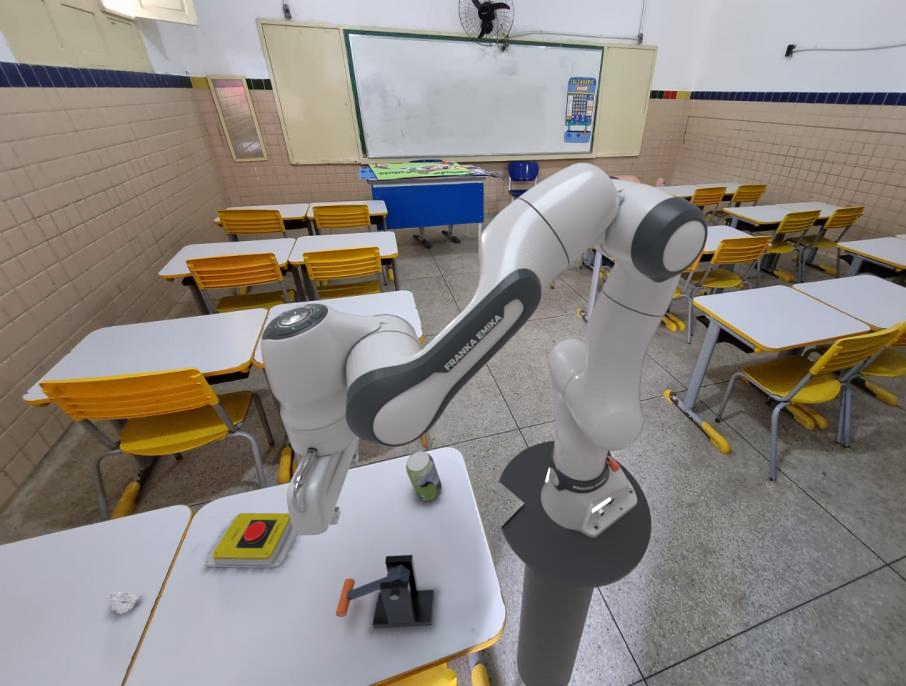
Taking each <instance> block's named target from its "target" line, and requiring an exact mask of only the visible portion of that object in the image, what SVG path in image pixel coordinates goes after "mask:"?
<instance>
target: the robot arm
mask: <svg viewBox="0 0 906 686" xmlns="http://www.w3.org/2000/svg"><path fill="white" fill-rule="evenodd" d="M707 220H708V219H707V217H706V214H705V213H704V212H703V211H702V210H701V209H700V208H699V207H698V206H697V205H696V204H694V203H693V202H691V201H689V200H687V199H686V198H684V197H680V196H675V195H673V194H670V193H668V192H667V191H665V190H662V189H660V188H658V187H655V186H652V185H649V184H647V183H638V182H634V181H630V180H625V179H620V178H619V177H617V176H614V175H608V174H607V173H606V172H605V171H604V170H603V169H602V168H600V167H599V166H597V165H595V164H592V163H590V162H589V163H588V162H578V163H573V164H571V165H569V166H567V167H564V168H563V169H561V170H559V171H557V172H555V173H553V174H552V175H550V176H548V177H546V178H545V179H543V180H541V181H540V182H538V183H536V184H535V185H534V186H532V187H531V188H530V189H528V190H526V191H525V192H524V193H523V194H521V195H520V196H518V197H517V198H516V199H514V200H513V201H512V202H511V203H510V204H508V205H507V206H506V207H504V208H503V209H502V210H500V212H498V213H497V214H496V215H495V217H494V218H492V220H491V221H490V222H489V223H488V224H487V226H486V227H485V228H484V229H483V231H482V232H481V235H480V237H479V238H480V239H479V242H478V249H477V250H478V264H479V277H478V284H477V287H476V291H475V293H474V295H473V297H472V299H471V300H470V301H469V303H468V304H467V306H466V307H465V308H464V309H463V310H462V311H460V312H459V314H458V315H457V316H456V317H454V319H452V321H450V323H448V324H447V325H446V326H445V327H444V328H443V329H442V330H441V331H440V332H439V333H438V334H437V335H436V336H435V337H433V339H431V340H430V341H429V342H428V343H427V344H426V345H425V346H424V347H423V346H422V344H421V342H420V340H419V338H418V334H417V333H416V330H415V329H414V326H412V324H411V323H410V322H409V321H407V320H406V319H405V318H403V317H400V316H398V315H394V314H389V313H381V314H374V315H360V314H351V313H347V312H342V311H339V310H337V309H335V308H332V307H330V306H329V305H326V304H324V303H305V304H301V305H297V306H294V307H292V308H289V309H287V310H284V311H283V312H281V313H280V314H279V315H278V316H276V317H275V318H273V319H272V320H271V321H270V322H269V323H268V324H267V326H266V327H265V329H264V330H263V333H262V335H261V337H260V353H261V359H262V364H263V368H264V372H265V375H266V379H267V382H268V385H269V388H270V391H271V393H272V395H273V396H274V397H275V399H276V400H277V401H278V403H279V405H280V407H279V414H280V418H281V422H282V425H283V427H284V430H285V432H286V436H287V439H288V441H289V444H290V447H291V448H292V451H294V452H295V453H297V455H301V456H302V457H301V459H300V461H299V463H298V465H297V467H296V470H295V471H294V473H293V476H292V478H291V480H290V482H289V484H288V487H287V492H286V505H287V510H288V514H289V515H290V520H291V523H292V527H293V530H294V532H295V533H296V534H297V535H298V536H317V535H321V534H323V533H326V532H327V531H328V529H329V527H330V526H333V525H337V524H338V523H339V519H340V516H341V511H340V506H337V503H338V500H339V498H340V496H341V492H342V490H343V487H344V484H345V481H346V479H347V475H348V472H349V469H350V467H356V466H357V465H358V462H359V459H360V455H359V441H360V439H361V440H362V441H364V442H366V443H369V444H371V445H375V446H379V447H385V448H397V447H404V446H407V445H409V444H411V443H414V442H415V441H417V440H419V439H420V438H423V436H424V435H426V433H428V432H429V431H430V430H431V429H432V428H433V427H434V426H435V424H436V423H437V422H438V421H439V419H440V418H441V417H442V415H443V414H444V412H445V410H446V409H447V408H448V406H449V405H450V403H451V401H452V400H453V399H454V398H455V397H456V396H457V394H458V393H459V392H460V391H461V390H462V388H464V387H465V386H466V385H467V384H468V383H469V382H470V381H471V380H472V379H473V378H474V377H475V376H476V374H478V373H479V372H480V371H481V369H482V368H484V367H485V366H486V365H487V363H488V362H490V361H491V360H492V358H493V357H494V356H496V354H497V353H498V352H500V350H501V349H503V348H504V346H505V345H506V344H507V343H508V342H509V341H510V340H511V339H512V338H513V337H514V336H515V335H516V334H517V333H518V332H519V331H520V329H522V327H524V325H525V324H527V322H528V321H529V320H530V318H531V317H532V316H533V315H534V313H535V312H536V311H537V309H538V307H539V305H540V302H541V299H542V294H543V293H544V292H545V290H546V289H547V287H549V284H551V283H552V281H553V280H554V279H555V278H556V277H557V276H558V275H559V274H561V272H562V271H564V270H565V269H566V268H567V267H569V266H570V265H571V264H572V263H573V262H575V261H576V260H577V259H578V258H580V257H581V256H582V255H583V254H584V253H585V252H586V251H587V250H588V249H589V248H591V247H594V248H595V249H596V250H598V251H600V252H601V253H602V254H604V255H606V256H608V257H609V258H612V259H614V264H613V266H612V268H611V270H610V272H609V273H608V275H607V277H606V279H605V281H604V283H603V285H602V288H601V290H600V292H599V295H598V297H597V300H596V302H595V304H594V307H593V309H592V310H591V313H590V316H589V318H588V319H587V323H586V326H585V337H586V342H584V341H583V340H581V339H578V338H570V339H569V338H568V339H565V340H562V341H561V342H559V343H558V344H556V345H555V346H554V347H553V348H552V349H551V351H550V353H549V356H548V358H547V364H548V370H549V374H550V379H551V380H550V381H551V390H552V402H553V413H554V414H553V415H554V421H555V423H554V425H555V434H554V441H555V442H554V448H553V450H552V453H551V458H550V467H549V470H548V474H547V477H546V482H545V484H544V486H543V488H542V491H541V502H542V505H543V508H544V510H545V512H546V513H547V515H548V516H549V517H550V518H551V519H552V520H553V521H554V522H556V523H557V524H559V525H560V526H562V527H565V528H567V529H571V530H577V531H580V532H582V533H583V534H585V535H587V536H589V537H591V538H595V537H597V536H598V535H600V534H601V533H602V532H603V531H605V530H606V529H607V528H608V527H610V526H611V525H612V524H614V523H615V522H616V521H617V520H619V519H620V518H621V517H622V516H624V515H625V514H626V513H627V512H629V511H630V510H631V509H632V508H634V507H635V506H636V505H637V496H636V493H635V491H634V489H633V487H632V485H631V483H630V482H629V481H628V479H627V478H626V476H625V474H624V472H623V471H622V469H621V468H620V465H619V464H618V463H617V462H616V460H617V459H615V458H614V459H612V458H613V457H612V453H611V452H617V451H621V450H624V449H626V448H629V447H630V446H631V445H633V444H634V443H635V442H636V441H637V440H638V439H639V437H641V434H642V432H643V429H644V427H645V426H644V425H645V418H644V415H643V410H642V403H641V382H642V373H643V368H644V363H645V358H646V355H647V353H648V349H649V347H650V345H651V343H652V341H653V339H654V337H655V335H656V333H657V330H658V329H659V326H660V324H661V322H662V321H663V318H664V317H665V315H666V313H667V311H668V309H669V306H670V305H671V303H672V301H673V298H674V296H675V292H676V290H677V288H678V285H679V282H680V279H681V276H682V273H684V272H685V271H686V270H688V269H689V268H690V267H691V266H692V265H694V263H695V262H696V261H697V260H698V258H699V257H700V256H701V254H702V253H703V250H704V249H705V246H706V243H707V240H708V233H709V232H708V222H707ZM611 457H612V458H611ZM629 492H631V493H629ZM594 527H596V528H598V529H595V528H594Z"/></svg>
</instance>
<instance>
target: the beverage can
mask: <svg viewBox="0 0 906 686" xmlns="http://www.w3.org/2000/svg"><path fill="white" fill-rule="evenodd" d="M405 471H406V474H407V476H408V478H409V481H410V483H411V485H412V489H413V491H414V493H415V495H416V497H417V498H418V499H419V500H421V501H424V502H428V501H431V500H434V499H436V497H437V496H438V495H439V494H440V493H441V491H442V481H441V478H440V475H439V473H438V469H437V467H436V464H435V461H434V459H433V455H431V454H429V453H428V452H426V451H424V450H418V451H415V452H413V453H412V454H411V455H409V457H408V458H407V460H406V464H405Z"/></svg>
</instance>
